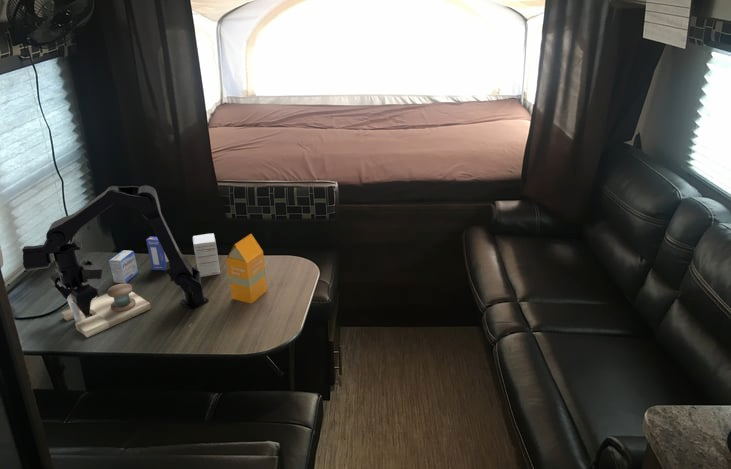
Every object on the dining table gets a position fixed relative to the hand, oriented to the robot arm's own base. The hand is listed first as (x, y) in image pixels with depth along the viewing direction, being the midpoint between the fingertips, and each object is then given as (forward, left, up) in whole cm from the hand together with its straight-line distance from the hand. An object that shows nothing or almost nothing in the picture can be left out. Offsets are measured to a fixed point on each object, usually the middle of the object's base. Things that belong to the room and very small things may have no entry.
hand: (80, 310), depth 168 cm
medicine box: (+15, -22, -4) cm, 27 cm away
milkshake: (0, 0, -4) cm, 4 cm away
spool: (-5, -11, -2) cm, 12 cm away
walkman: (+11, -34, -4) cm, 36 cm away
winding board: (-2, -7, -4) cm, 8 cm away
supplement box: (-3, -43, -4) cm, 43 cm away
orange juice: (-27, -42, -4) cm, 50 cm away
